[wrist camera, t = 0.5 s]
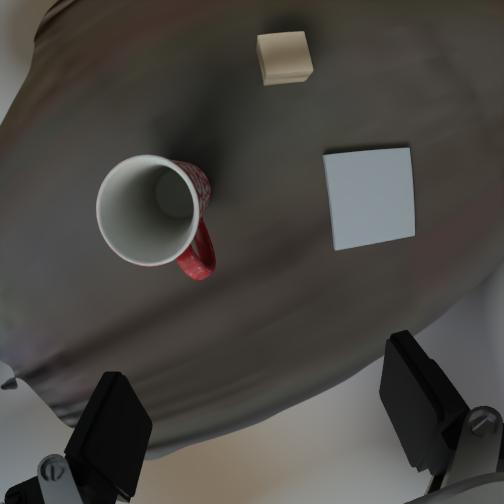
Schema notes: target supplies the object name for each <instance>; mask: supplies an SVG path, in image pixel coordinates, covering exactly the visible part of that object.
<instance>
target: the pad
mask: <svg viewBox="0 0 504 504" xmlns="http://www.w3.org/2000/svg"><path fill="white" fill-rule="evenodd" d="M323 161H324V167H325V174H326V182H327V189H328V197H329V205H330V214H331V223H332V233H333V243H334V249H335V250H341V249H346V248H352V247H357V246H362V245H368V244H373V243H378V242H384V241H389V240H394V239H399V238H405V237H410V236H415V216H414V193H413V179H412V167H411V157H410V149H409V148H394V149H380V150H367V151H356V152H346V153H337V154H328V155H323Z"/></svg>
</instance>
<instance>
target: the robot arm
mask: <svg viewBox="0 0 504 504" xmlns="http://www.w3.org/2000/svg"><path fill="white" fill-rule="evenodd" d="M379 394H380V398H381V401H382V403H383V405H384V407H385V409H386V411H387V413H388V416H389V418H390V420H391V422H392V424H393V427H394V429H395V431H396V433H397V435H398V438H399V440H400V442H401V445H402V447H403V449H404V451H405V454H406V456H407V458H408V461H409V463H410V465H411V466H412V467H416V468H417V470H418V472H421V471H423V470H426V469H429V471H430V473H431V475H432V477H431V480H430V483H429V485H428V487H427V490H426V492H425V494H424V496H422V497H419V498H417V499H414V500H412V501H410V502H407V503H404V504H504V423H503V419H502V417H501V415H500V413H499V412H498V411H497V410H496V409H494V408H492V407H489V406H479V407H475V408H474V409H472V410H470V408H469V407H468V405H467V404H466V403H465V401H464V400H463V398H462V397H461V395H460V394H459V393H458V391H457V390H456V388H455V387H454V386H453V384H452V383H451V382H450V381H449V379H448V378H447V376H446V375H445V373H444V372H443V371H442V369H441V368H440V367H439V365H438V364H437V363H436V362H435V361H434V360H433V359H430V358H429V357H428V356H427V354H426V353H425V352H424V351H423V349H422V348H421V347H420V345H419V344H418V343H417V341H416V340H415V339H414V338H413V336H412V335H411V334H410V332H409V331H408V330H404V331H400V332H397V333H393V334H391V336H390V339H387V341H386V348H385V356H384V364H383V371H382V377H381V384H380V390H379ZM151 431H152V421H151V419H150V417H149V416H148V414H147V413H146V411H145V409H144V408H143V406H142V404H141V403H140V401H139V399H138V397H137V396H136V394H135V392H134V390H133V389H132V387H131V385H130V383H129V381H128V379H127V378H126V376H124V375H122V373H121V372H105V373H104V374H103V376H102V377H101V379H100V381H99V383H98V385H97V387H96V389H95V390H94V392H93V394H92V396H91V398H90V400H89V402H88V404H87V406H86V408H85V410H84V412H83V414H82V415H81V417H80V419H79V421H78V423H77V426H76V428H75V430H74V432H73V434H72V436H71V438H70V440H69V442H68V444H67V446H66V448H65V451H64V453H65V454H66V455H65V458H64V457H63V456H61V455H58V454H51V455H48V456H46V457H45V458H43V459H42V460H41V462H40V463H39V465H38V469H37V474H38V476H36V477H33V478H31V479H29V480H27V481H24V482H22V483H20V484H17V485H15V486H13V487H11V488H9V490H8V491H7V492H6V494H5V499H4V500H5V504H115V503H116V500H117V501H122V502H127V503H130V499H131V497H133V496H134V495H135V491H136V487H137V483H138V479H139V476H140V472H141V468H142V464H143V460H144V456H145V453H146V449H147V445H148V442H149V438H150V434H151ZM0 504H4V503H3V502H1V503H0Z"/></svg>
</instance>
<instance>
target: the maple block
mask: <svg viewBox="0 0 504 504" xmlns="http://www.w3.org/2000/svg"><path fill="white" fill-rule="evenodd" d="M256 51H257V56H258V60H259V65H260V70H261V75H262V79H263V84H264V86H267V85H275V84H283V83H292V82H303V81H305V80H306V79H307V78H308V77H309V76H310V74H311V73H312V72H313V71H314V70H313V66H312V61H311V57H310V53H309V49H308V45H307V41H306V37H305V34H304V31H301V32H285V33H274V34H264V35H258V37H257V48H256Z"/></svg>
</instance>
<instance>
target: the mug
mask: <svg viewBox="0 0 504 504" xmlns="http://www.w3.org/2000/svg"><path fill="white" fill-rule="evenodd" d="M210 197H211V188H210V183H209V180H208V178H207V176H206V175H205V173H204V172H203V171H202V170H201V169H200V168H198V167H197V166H195V165H193V164H190V163H187V162H181V161H176V160H170V159H167V158H165V157H162V156H159V155H152V154H144V155H137V156H133V157H130V158H128V159H126V160H124V161H122V162H120V163H119V164H118V165H116V166H115V167H114V168H113V169H112V170H111V171H110V172H109V173H108V175H107V176H106V177H105V179H104V181H103V182H102V185H101V187H100V189H99V193H98V196H97V202H96V216H97V222H98V225H99V229H100V231H101V233H102V236H103V238H104V239H105V241H106V242H107V244H108V245H109V246H110V248H111V249H112V250H113V251H114V252H115V253H116V254H118V255H119V256H120V257H122V258H123V259H125V260H127V261H129V262H131V263H133V264H136V265H141V266H158V265H162V264H165V263H168V262H170V261H172V260H174V259H176V260H177V262H178V264H179V265H180V267H181V268H182V269H183V271H184V272H185V273H186V274H187V275H188V276H189V277H191V278H192V279H194V280H202V279H204V278H206V277H207V276H209V275H210V274H211V273H212V272H213V271H214V269H215V266H216V259H215V253H214V249H213V246H212V243H211V239H210V237H209V234H208V231H207V229H206V226H205V224H204V221H203V218H202V215H203V213H204V211H205V209H206V208H207V206H208V203H209V200H210ZM193 238H194V241H195V245H196V248H197V252H198V255H199V258H198V256H197V255H196V254H195V252H194V250H193V249H192V246H191V242H192V240H193Z"/></svg>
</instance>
